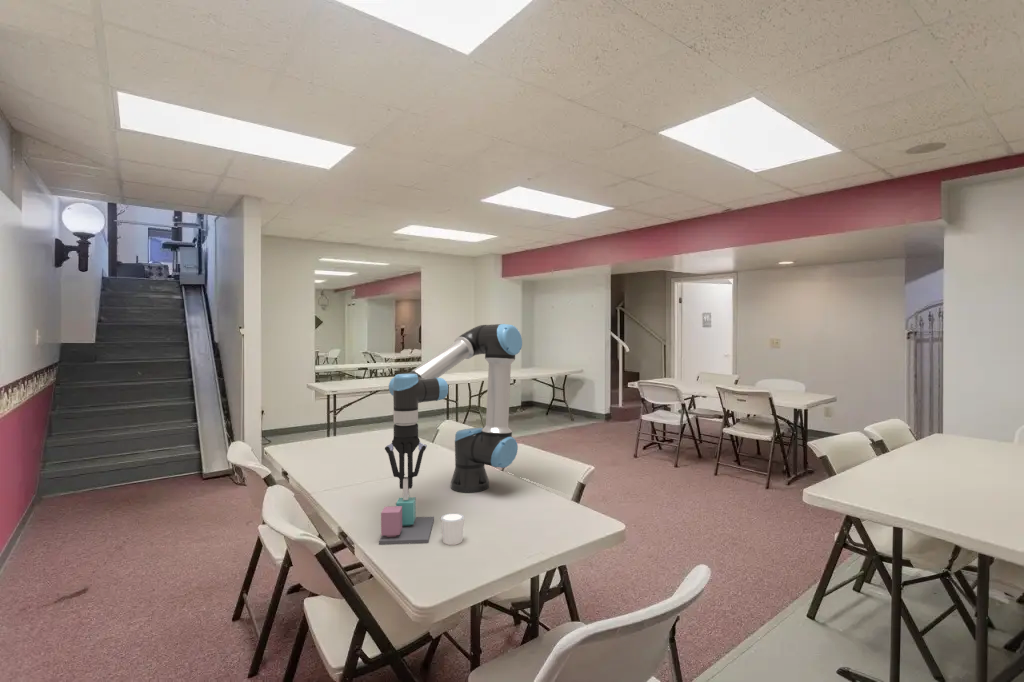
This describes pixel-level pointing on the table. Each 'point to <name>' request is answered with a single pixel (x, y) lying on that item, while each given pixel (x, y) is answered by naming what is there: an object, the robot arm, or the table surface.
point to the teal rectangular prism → (408, 510)
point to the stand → (403, 528)
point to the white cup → (452, 528)
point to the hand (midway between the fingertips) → (406, 498)
